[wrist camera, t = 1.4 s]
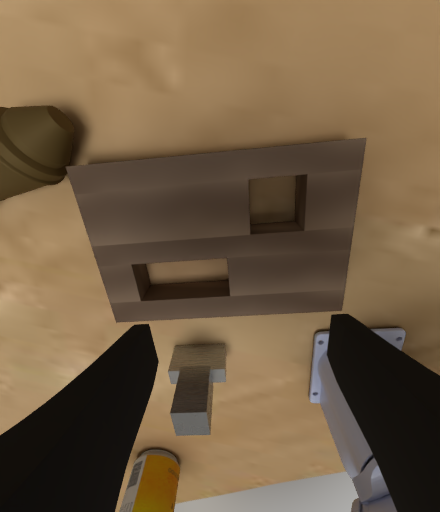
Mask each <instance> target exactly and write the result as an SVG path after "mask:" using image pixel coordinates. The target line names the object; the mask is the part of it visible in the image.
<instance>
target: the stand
mask: <svg viewBox="0 0 440 512" xmlns="http://www.w3.org/2000/svg"><path fill="white" fill-rule="evenodd" d="M365 145H366V138H359V139H349V140H339V141H328V142H318V143H307V144H297V145H287V146H276V147H266V148H255V149H245V150H235V151H224V152H214V153H203V154H193V155H183V156H172V157H162V158H151V159H141V160H131V161H120V162H110V163H99V164H89V165H79V166H68V167H66V169H67V173H68V176H69V179H70V182H71V185H72V188H73V191H74V194H75V197H76V200H77V203H78V206H79V209H80V212H81V216H82V219H83V222H84V225H85V228H86V231H87V234H88V237H89V240H90V243H91V246H92V249H93V252H94V255H95V259H96V262H97V265H98V268H99V271H100V274H101V277H102V280H103V283H104V286H105V289H106V292H107V295H108V298H109V302H110V305H111V308H112V311H113V314H114V317H115V320H116V322H135V321H154V320H173V319H192V318H212V317H231V316H250V315H269V314H288V313H307V312H327V311H342V306H343V299H344V292H345V285H346V278H347V271H348V264H349V257H350V250H351V243H352V236H353V229H354V222H355V215H356V208H357V201H358V194H359V187H360V180H361V173H362V166H363V159H364V152H365ZM292 175H296V199H295V221H289V222H275V223H262V224H250V212H249V186H248V179H258V178H270V177H281V176H292ZM220 258H227V262H228V274H229V280H223V281H207V282H191V283H175V284H158V285H150V281H149V276H148V272H147V268H146V263H161V262H175V261H190V260H205V259H220Z"/></svg>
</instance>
